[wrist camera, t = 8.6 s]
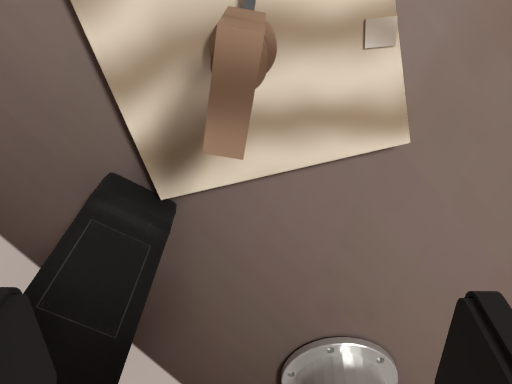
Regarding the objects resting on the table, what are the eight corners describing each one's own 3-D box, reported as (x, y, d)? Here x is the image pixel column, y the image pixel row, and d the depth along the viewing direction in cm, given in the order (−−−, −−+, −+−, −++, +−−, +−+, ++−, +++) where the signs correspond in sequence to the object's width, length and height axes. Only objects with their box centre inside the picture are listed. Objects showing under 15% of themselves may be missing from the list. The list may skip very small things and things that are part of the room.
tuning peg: (267, 95, 30) (267, 163, 21) (205, 84, 30) (177, 149, 21) (304, -100, 25) (325, -122, 15) (227, -115, 24) (202, -147, 15)
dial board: (404, 134, 34) (411, 143, 32) (164, 190, 37) (160, 201, 35) (368, -191, 24) (374, -200, 22) (46, -77, 27) (33, -78, 26)
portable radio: (72, 215, 38) (-183, 574, 17) (95, 163, 36) (-174, 510, 14) (154, 252, 40) (19, 617, 19) (181, 205, 37) (62, 569, 16)
